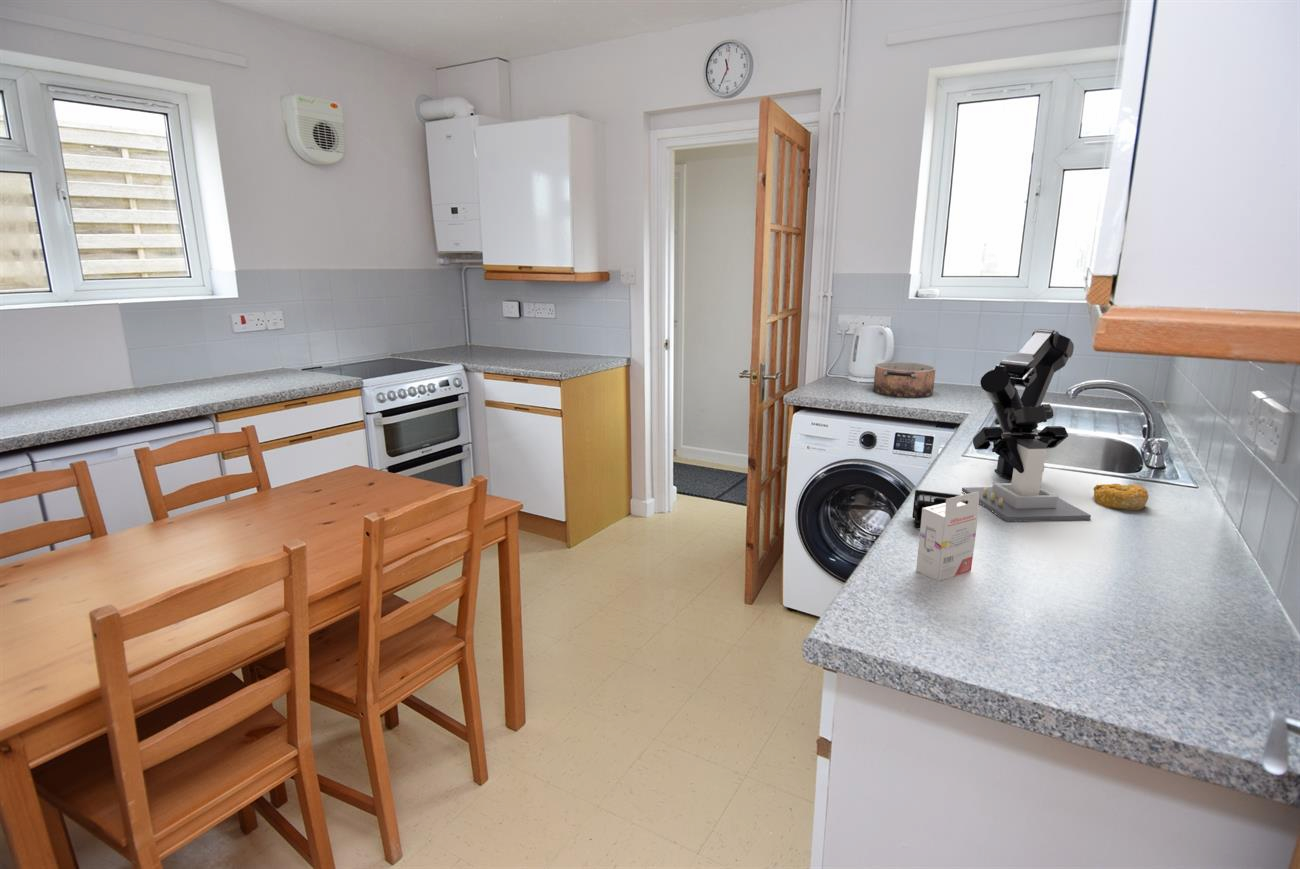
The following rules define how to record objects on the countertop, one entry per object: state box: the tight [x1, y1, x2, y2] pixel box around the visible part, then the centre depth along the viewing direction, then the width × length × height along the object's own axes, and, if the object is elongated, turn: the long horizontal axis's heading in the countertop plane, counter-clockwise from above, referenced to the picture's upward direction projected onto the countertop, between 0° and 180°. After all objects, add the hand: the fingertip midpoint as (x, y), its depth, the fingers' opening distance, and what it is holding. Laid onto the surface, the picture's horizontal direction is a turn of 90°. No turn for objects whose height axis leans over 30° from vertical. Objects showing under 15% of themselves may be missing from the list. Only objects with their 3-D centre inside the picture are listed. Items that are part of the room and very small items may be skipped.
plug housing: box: [1010, 439, 1048, 496], centre depth 145 cm, size 4×4×13 cm
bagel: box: [1093, 483, 1149, 511], centre depth 148 cm, size 10×11×5 cm
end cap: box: [912, 489, 968, 529], centre depth 135 cm, size 10×7×7 cm
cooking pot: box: [873, 361, 937, 399], centre depth 266 cm, size 30×22×11 cm
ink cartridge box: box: [915, 492, 980, 582], centre depth 114 cm, size 9×5×15 cm, turn 117°
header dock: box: [961, 482, 1092, 522], centre depth 147 cm, size 18×18×4 cm
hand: (1031, 472), depth 144 cm, fingers closed on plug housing, 4 cm apart
